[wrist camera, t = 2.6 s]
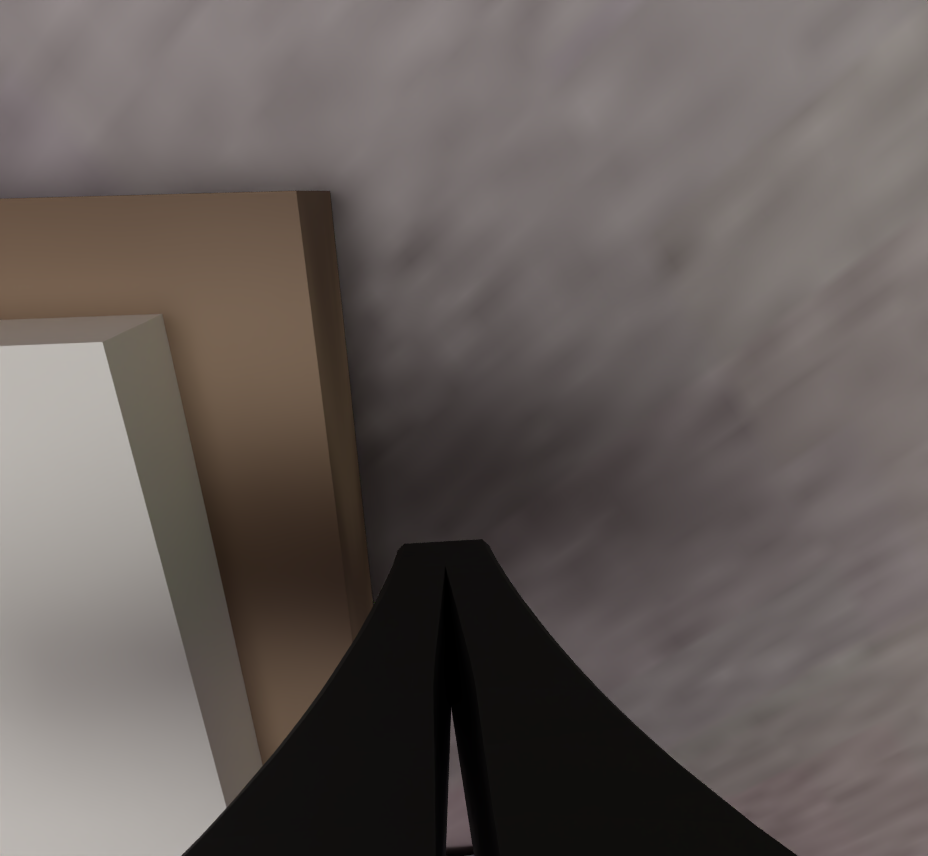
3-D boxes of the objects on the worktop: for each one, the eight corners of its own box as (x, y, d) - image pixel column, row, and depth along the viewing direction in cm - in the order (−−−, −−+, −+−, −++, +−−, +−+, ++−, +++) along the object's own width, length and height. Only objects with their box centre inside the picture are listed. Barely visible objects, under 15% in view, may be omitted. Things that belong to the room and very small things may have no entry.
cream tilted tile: (264, 775, 11) (241, 863, 10) (-58, 801, 11) (-132, 896, 9) (162, 314, 8) (101, 342, 6) (-311, 331, 8) (-488, 366, 6)
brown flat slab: (383, 700, 15) (374, 818, 12) (-114, 737, 14) (-245, 871, 11) (329, 191, 10) (296, 190, 7) (-408, 210, 10) (-747, 217, 7)
